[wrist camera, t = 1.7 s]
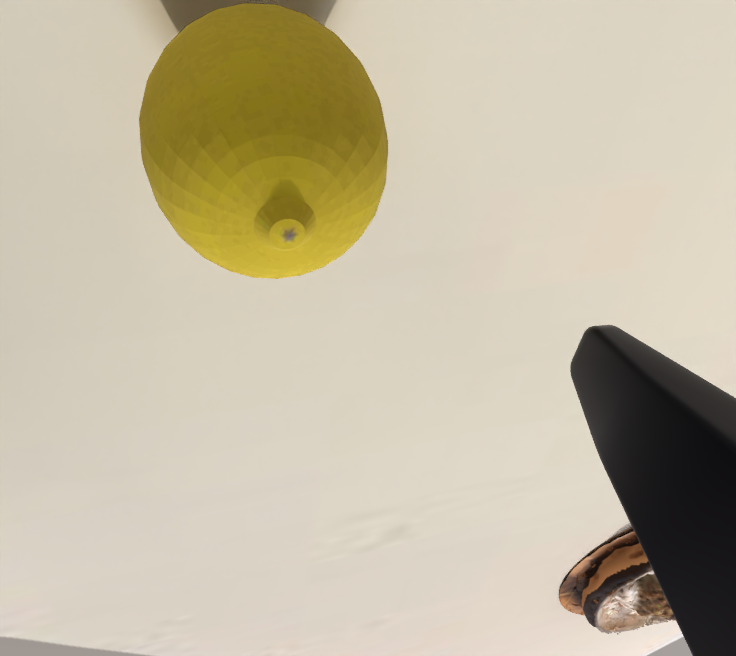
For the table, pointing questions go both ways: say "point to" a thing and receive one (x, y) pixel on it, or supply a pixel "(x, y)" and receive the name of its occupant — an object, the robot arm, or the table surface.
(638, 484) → the robot arm
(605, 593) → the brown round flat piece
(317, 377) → the table surface
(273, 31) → the lemon
